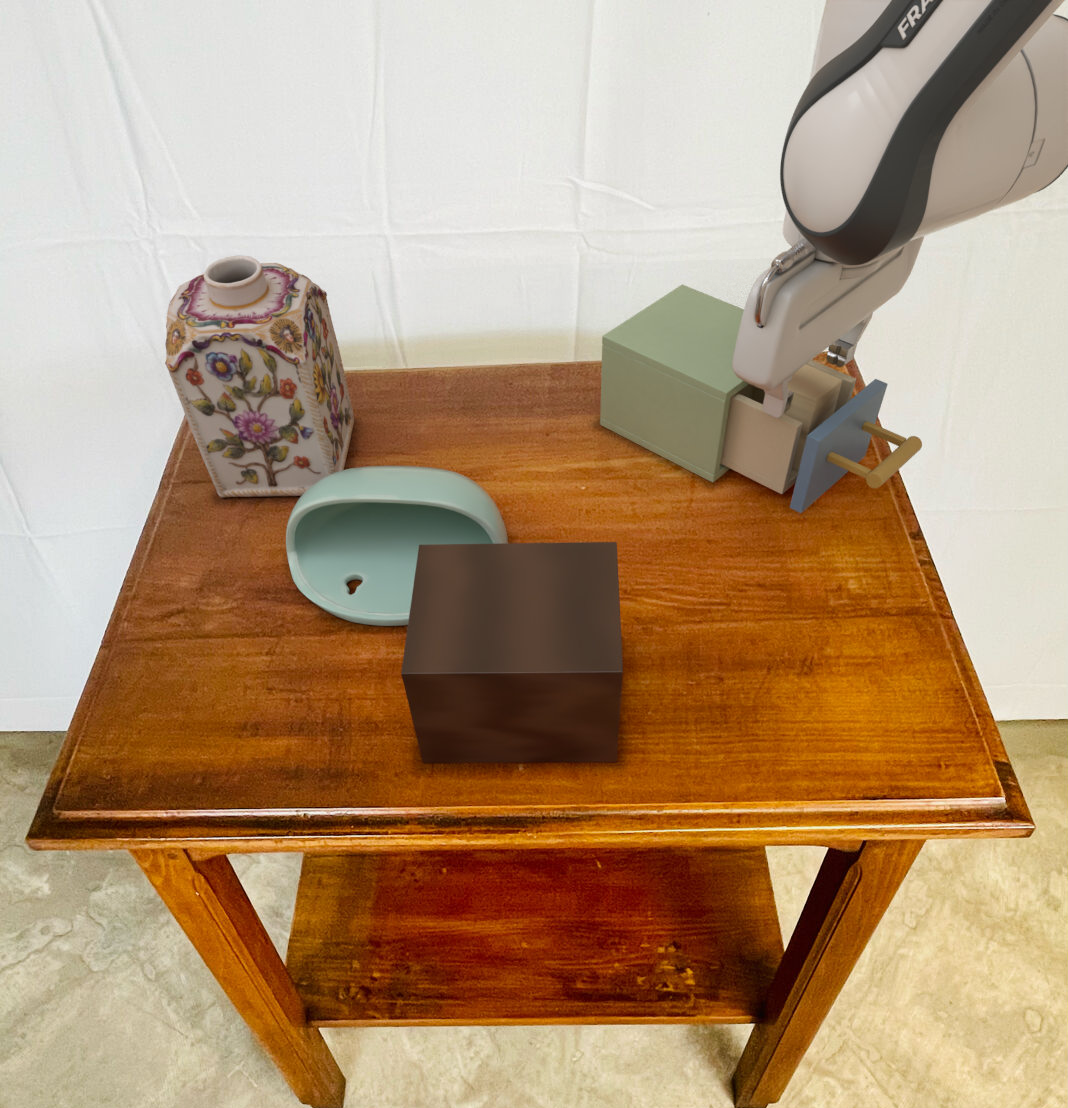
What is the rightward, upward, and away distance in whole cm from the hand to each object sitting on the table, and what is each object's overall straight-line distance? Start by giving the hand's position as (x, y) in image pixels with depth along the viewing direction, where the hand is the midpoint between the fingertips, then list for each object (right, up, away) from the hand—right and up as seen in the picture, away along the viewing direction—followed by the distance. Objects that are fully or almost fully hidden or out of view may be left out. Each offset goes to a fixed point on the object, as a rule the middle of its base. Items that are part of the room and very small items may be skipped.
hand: (808, 386), depth 75 cm
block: (0, -4, +5) cm, 7 cm away
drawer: (+1, -5, +6) cm, 8 cm away
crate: (-24, -27, -7) cm, 37 cm away
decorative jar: (-47, -3, +11) cm, 48 cm away
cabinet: (-8, +1, +12) cm, 14 cm away
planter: (-35, -14, +2) cm, 37 cm away
